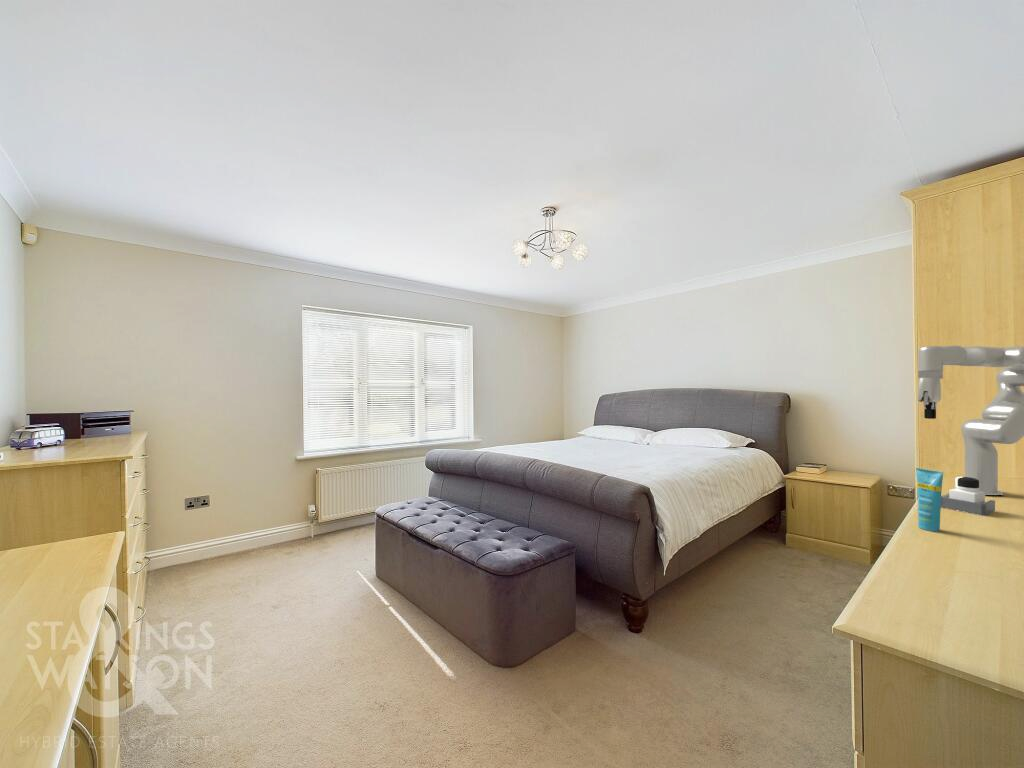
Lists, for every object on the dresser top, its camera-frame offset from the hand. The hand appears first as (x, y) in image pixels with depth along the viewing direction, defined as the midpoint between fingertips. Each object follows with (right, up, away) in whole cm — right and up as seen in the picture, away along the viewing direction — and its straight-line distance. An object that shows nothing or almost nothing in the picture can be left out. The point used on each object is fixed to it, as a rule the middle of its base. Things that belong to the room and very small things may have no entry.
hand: (930, 418), depth 179 cm
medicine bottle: (-8, -32, -22) cm, 40 cm away
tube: (-43, -32, -43) cm, 69 cm away
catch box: (-8, -32, -22) cm, 40 cm away
